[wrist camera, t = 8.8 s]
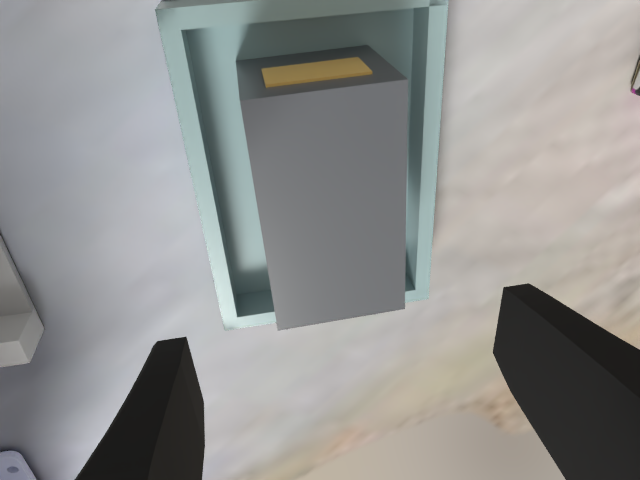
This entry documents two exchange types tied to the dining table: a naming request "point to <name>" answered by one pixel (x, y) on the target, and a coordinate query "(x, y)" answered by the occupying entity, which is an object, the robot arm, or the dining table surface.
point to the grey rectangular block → (329, 180)
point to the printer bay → (16, 316)
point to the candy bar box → (636, 81)
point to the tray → (229, 134)
